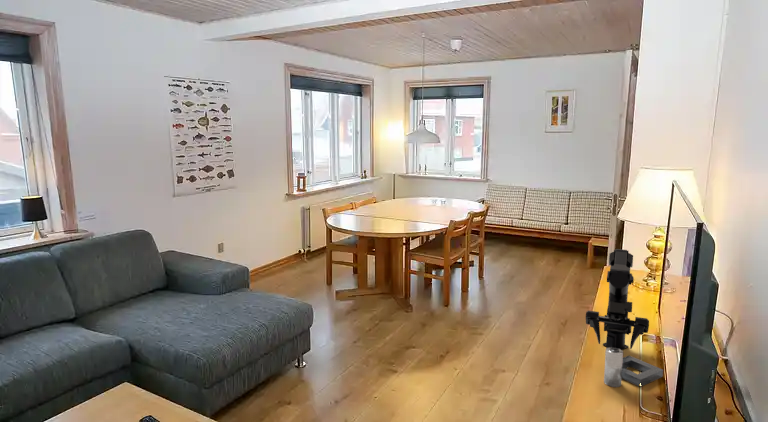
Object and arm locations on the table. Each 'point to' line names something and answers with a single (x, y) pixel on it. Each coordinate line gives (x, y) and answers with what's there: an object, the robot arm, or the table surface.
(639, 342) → the table surface
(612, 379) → the ring
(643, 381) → the jig
